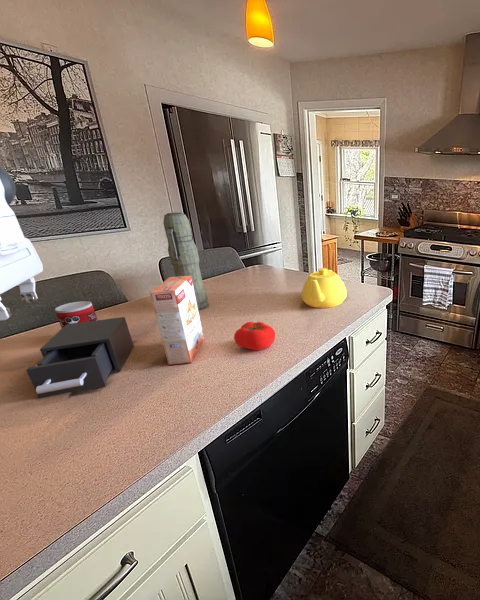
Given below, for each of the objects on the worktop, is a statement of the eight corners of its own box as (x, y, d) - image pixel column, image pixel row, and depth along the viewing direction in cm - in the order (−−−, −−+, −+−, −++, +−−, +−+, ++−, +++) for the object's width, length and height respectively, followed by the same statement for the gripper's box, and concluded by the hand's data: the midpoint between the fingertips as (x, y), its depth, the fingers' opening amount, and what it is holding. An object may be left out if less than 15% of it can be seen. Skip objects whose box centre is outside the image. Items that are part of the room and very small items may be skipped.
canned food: (62, 342, 97) (48, 308, 94) (93, 331, 104) (82, 299, 100) (76, 347, 95) (63, 312, 91) (108, 335, 102) (97, 303, 98)
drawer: (99, 397, 73) (88, 367, 70) (30, 412, 68) (14, 380, 65) (121, 359, 87) (113, 333, 85) (65, 369, 83) (54, 342, 80)
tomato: (259, 356, 91) (256, 336, 89) (229, 349, 95) (225, 329, 93) (282, 341, 100) (280, 322, 98) (254, 335, 103) (251, 316, 101)
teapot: (338, 315, 119) (336, 279, 114) (291, 313, 120) (287, 278, 115) (352, 292, 142) (350, 262, 137) (312, 291, 143) (309, 261, 138)
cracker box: (193, 363, 88) (175, 290, 80) (167, 366, 86) (147, 292, 79) (206, 339, 100) (191, 274, 93) (184, 342, 99) (167, 276, 91)
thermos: (213, 300, 131) (195, 211, 118) (202, 312, 120) (181, 215, 107) (189, 302, 129) (168, 211, 117) (176, 313, 118) (151, 215, 106)
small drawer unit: (120, 371, 84) (108, 338, 80) (54, 384, 78) (39, 349, 75) (134, 346, 96) (124, 316, 92) (78, 355, 91) (66, 324, 87)
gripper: (-7, 227, 62) (23, 294, 67) (-93, 247, 45) (-45, 335, 50) (38, 225, 65) (63, 290, 70) (-28, 243, 48) (12, 327, 53)
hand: (18, 309), depth 60 cm, fingers open, 8 cm apart
